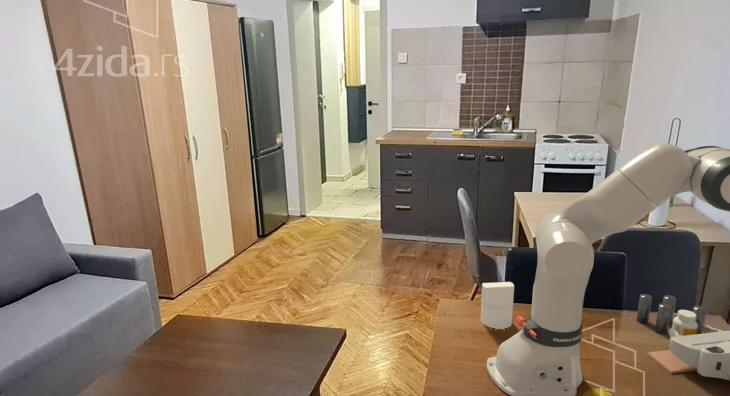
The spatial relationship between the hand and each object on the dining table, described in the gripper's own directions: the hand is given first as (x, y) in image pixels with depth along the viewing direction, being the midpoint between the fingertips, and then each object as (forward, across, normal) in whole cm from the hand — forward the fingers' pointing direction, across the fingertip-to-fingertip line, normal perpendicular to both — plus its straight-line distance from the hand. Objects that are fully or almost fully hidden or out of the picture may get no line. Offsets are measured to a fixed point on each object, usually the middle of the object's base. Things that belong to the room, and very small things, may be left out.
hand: (687, 329), depth 120 cm
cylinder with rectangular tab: (+22, +43, +6) cm, 49 cm away
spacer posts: (+10, -4, +5) cm, 12 cm away
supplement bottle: (+1, 0, +6) cm, 6 cm away
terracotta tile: (-5, +8, +6) cm, 11 cm away
